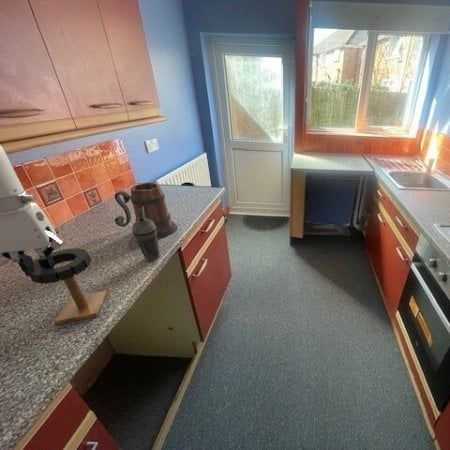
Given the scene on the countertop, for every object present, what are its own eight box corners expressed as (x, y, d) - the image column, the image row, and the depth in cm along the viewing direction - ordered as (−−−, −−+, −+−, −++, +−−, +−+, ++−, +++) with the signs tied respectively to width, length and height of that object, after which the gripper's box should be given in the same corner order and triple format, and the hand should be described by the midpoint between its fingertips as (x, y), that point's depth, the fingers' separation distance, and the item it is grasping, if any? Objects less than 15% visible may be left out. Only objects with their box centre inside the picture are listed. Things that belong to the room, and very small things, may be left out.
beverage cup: (139, 256, 91) (123, 206, 82) (160, 249, 95) (148, 201, 86) (143, 266, 86) (127, 214, 77) (166, 258, 90) (153, 208, 81)
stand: (55, 324, 64) (32, 285, 58) (71, 300, 71) (51, 262, 65) (97, 316, 67) (79, 278, 60) (108, 293, 74) (92, 257, 68)
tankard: (182, 221, 117) (174, 179, 107) (170, 239, 102) (159, 193, 93) (129, 221, 114) (116, 179, 105) (108, 241, 99) (90, 193, 90)
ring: (20, 287, 56) (15, 279, 55) (46, 259, 65) (42, 251, 64) (81, 278, 60) (77, 270, 59) (97, 253, 69) (94, 245, 68)
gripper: (59, 193, 58) (87, 257, 67) (-36, 199, 53) (7, 267, 62) (42, 205, 52) (75, 274, 61) (-67, 213, 47) (-14, 287, 55)
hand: (41, 270), depth 61 cm, fingers closed on ring, 2 cm apart
